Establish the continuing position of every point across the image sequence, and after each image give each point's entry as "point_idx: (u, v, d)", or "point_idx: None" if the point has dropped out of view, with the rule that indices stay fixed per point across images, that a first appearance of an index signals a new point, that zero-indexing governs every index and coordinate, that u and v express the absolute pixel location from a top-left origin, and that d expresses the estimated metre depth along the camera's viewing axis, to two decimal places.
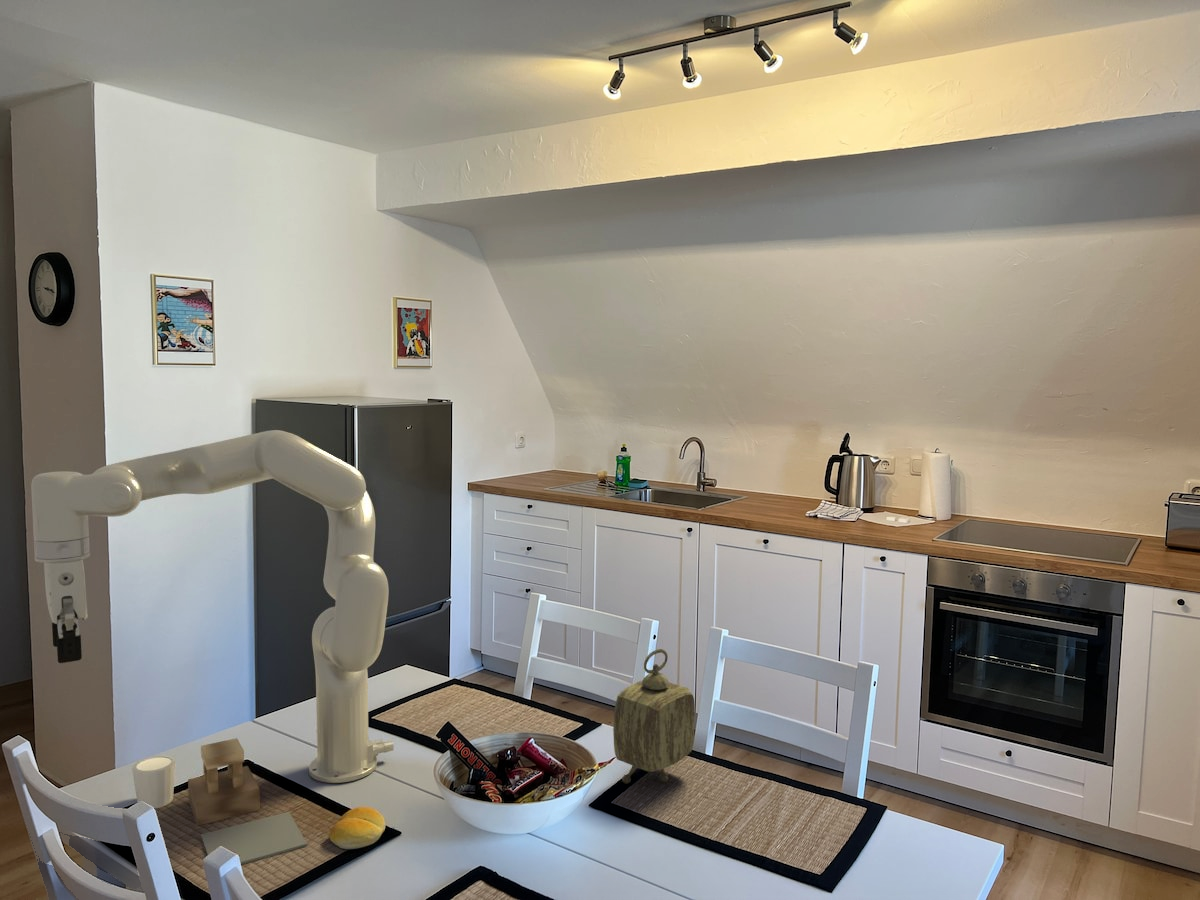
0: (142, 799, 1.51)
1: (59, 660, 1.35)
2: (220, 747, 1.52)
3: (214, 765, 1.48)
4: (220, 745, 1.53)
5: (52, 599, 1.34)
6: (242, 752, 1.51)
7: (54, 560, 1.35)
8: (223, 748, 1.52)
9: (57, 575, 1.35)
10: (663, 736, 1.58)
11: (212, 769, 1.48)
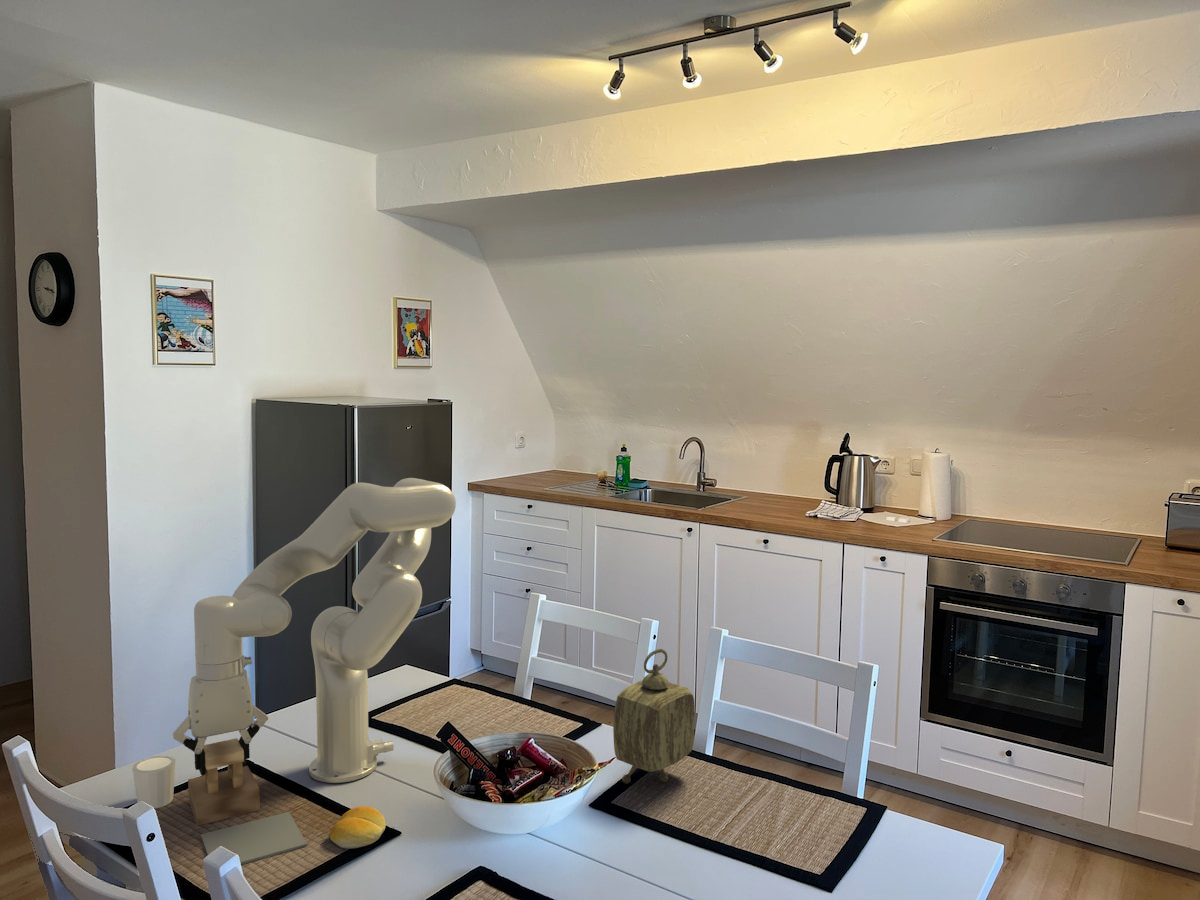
0: (142, 799, 1.51)
1: None
2: (220, 747, 1.52)
3: (214, 765, 1.48)
4: (220, 745, 1.53)
5: (251, 704, 1.52)
6: (242, 752, 1.51)
7: (242, 672, 1.51)
8: (223, 748, 1.52)
9: (249, 683, 1.52)
10: (663, 736, 1.58)
11: (212, 769, 1.48)
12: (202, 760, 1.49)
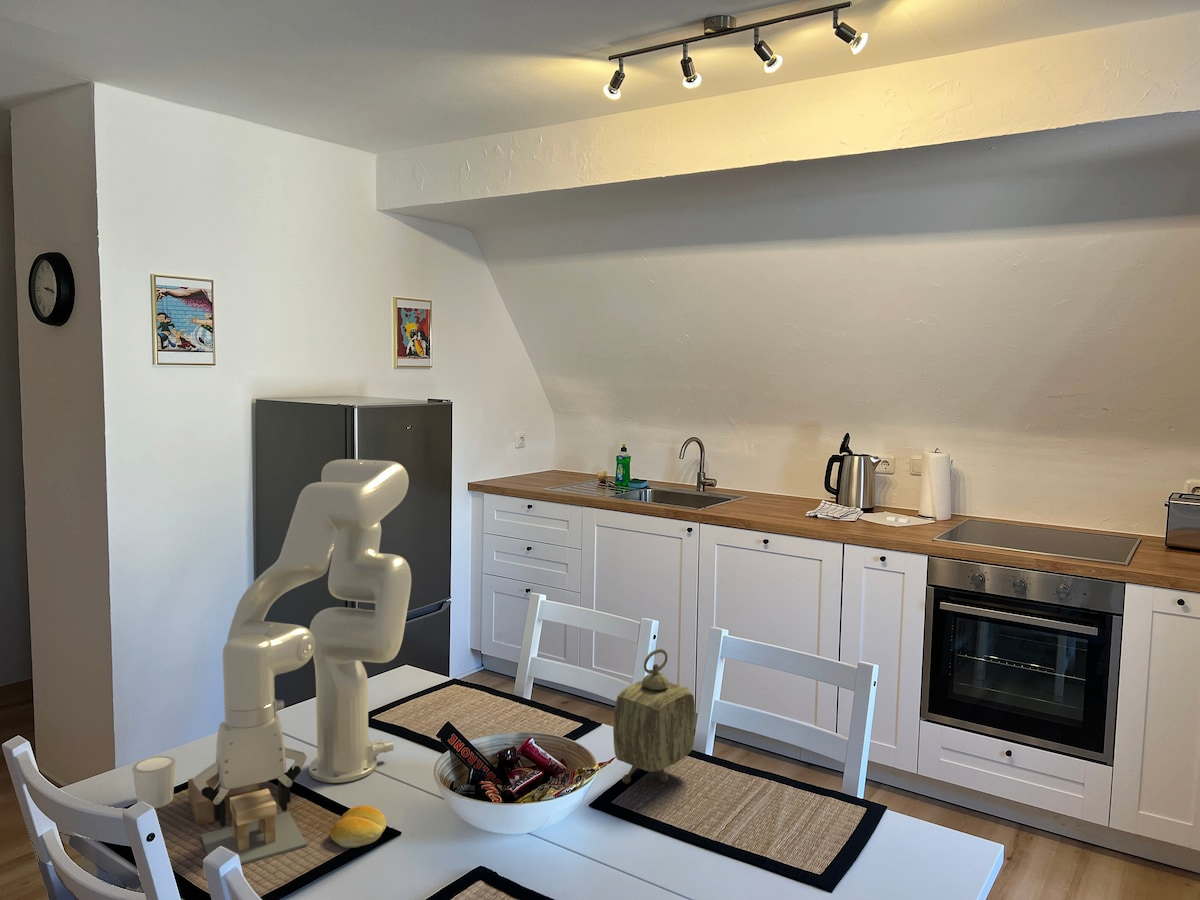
0: (142, 799, 1.51)
1: None
2: (250, 799, 1.41)
3: (245, 820, 1.37)
4: (250, 797, 1.42)
5: (283, 752, 1.41)
6: (275, 805, 1.40)
7: (274, 718, 1.40)
8: (254, 800, 1.41)
9: (281, 729, 1.41)
10: (663, 736, 1.58)
11: (242, 824, 1.37)
12: (222, 811, 1.37)
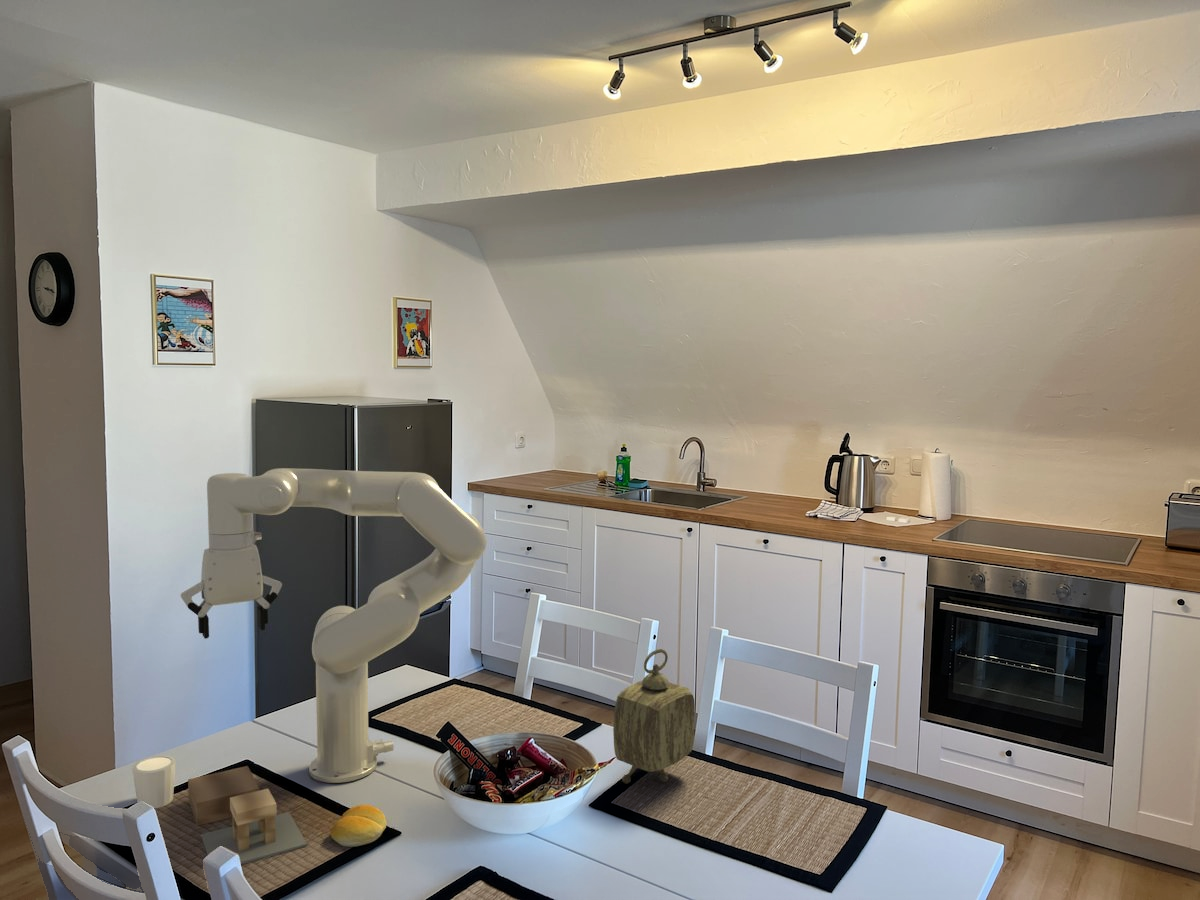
0: (142, 799, 1.51)
1: (264, 627, 1.61)
2: (250, 799, 1.41)
3: (245, 820, 1.37)
4: (250, 797, 1.42)
5: (261, 577, 1.60)
6: (275, 805, 1.40)
7: (252, 546, 1.59)
8: (254, 800, 1.41)
9: (259, 557, 1.60)
10: (663, 736, 1.58)
11: (242, 824, 1.37)
12: (205, 623, 1.55)
